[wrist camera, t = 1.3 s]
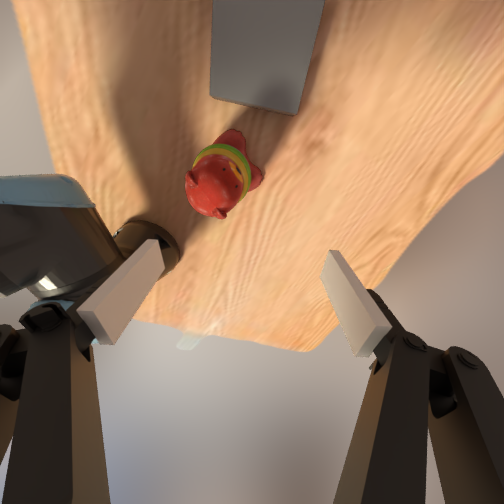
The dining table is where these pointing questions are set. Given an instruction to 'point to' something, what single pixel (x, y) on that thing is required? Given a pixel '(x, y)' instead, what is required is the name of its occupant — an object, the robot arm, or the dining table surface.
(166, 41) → the dining table surface
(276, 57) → the grey block
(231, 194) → the stacking bear
